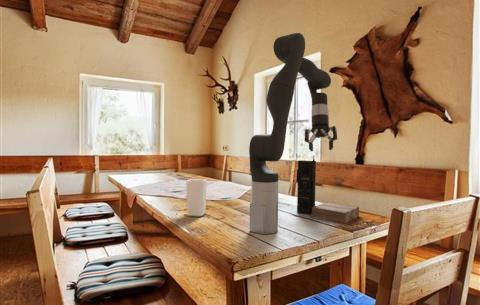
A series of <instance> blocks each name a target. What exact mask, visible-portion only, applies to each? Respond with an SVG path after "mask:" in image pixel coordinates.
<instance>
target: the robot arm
mask: <svg viewBox="0 0 480 305" xmlns="http://www.w3.org/2000/svg"><path fill="white" fill-rule="evenodd" d="M305 51H306V39H305V36H304V35H303V34H302V33H300V32H296V33H295V32H293V33H290V34H285V35H282V36H278V37H277V38H276V39H274V42H273V54H274V55H275V57H276V58H277V59H278V60H279V61H280V62H281V63H283V64H284V65H283V67H282V68H281V69H280V70H279V71H278V72H277V73H276V75H275V76H274V77H273V78H272V80H271V82H270V83H269V87H268V90H267V95H266V102H265V103H266V105H267V109H268V111H269V113H270V115H271V118H272V122H273V123H272V124H273V125H272V131H271V133H270V134H265V133H264V134H255V135H252V137H251V139H250V141H249V148H248V149H249V150H248V151H249V152H248V154H249V171H250V175H251V202H250V203H249V232H253V233H256V234H260V235H267V234H269V235H270V234H274V233H277V232H278V231H279V173H278V172H277V171H274V170H272V169H271V168H270V167H269V166H268V165H267V162H272V163H273V162H279V161H280V160H281V159H282V157H283V154H284V151H285V143H286V134H287V129H288V128H287V127H288V120H289V115H290V111H291V107H292V103H293V98H294V95H295V94H294V93H295V90H296V89H295V88H296V82H297V78H298V75H299V74H300V75H301V76H302V78H304V79H305V80H306V82H307V83H306V84H307V87H308V90H309V94H310V98H311V128H310V129H308V128H305V129H304V142H305V143H308V150H309V151H310V152H314V144H313V143H314V141H315V140H316V139H319V138H327V139H328V149H329V151H332V150H333V149H334V141H337V140H338V131H337V127H336V126H335V125H333V126H330V123H329V118H330V117H329V114H330V113H329V107H328V95H327V93H325V92H318V90H323V89H327V88H328V87H330V86H331V83H332V79H331V76H330V74H329V73H328V72H327V71H325V70H323V69H321V68H319V67H318V66H317V65H316V64H315V63H314V62H313V61H312V60H310V59H309V58H305V57H304V55H305ZM330 131H331V132H332V136H331V135H330V134H329V132H330ZM311 133H312V134H311ZM310 134H311V135H310Z"/></svg>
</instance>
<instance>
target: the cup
mask: <svg viewBox="0 0 480 305" xmlns="http://www.w3.org/2000/svg"><path fill="white" fill-rule="evenodd" d="M185 182H186V186H185V189H186V190H185V191H186V194H185V195H186V206H187V207H186V208H187V214H188V216H189V217H193V218H194V217H197V218H199V217H203V216H204V215H205V214H206V207H207V206H206V205H207V195H208V194H207V191H208V189H207V188H208V180H207V179H206V178H189V179H187V180H186V181H185Z"/></svg>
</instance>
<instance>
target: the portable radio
mask: <svg viewBox="0 0 480 305" xmlns="http://www.w3.org/2000/svg"><path fill="white" fill-rule="evenodd" d="M312 158H313V159H312V160H302V159H301V160H297V169H296V180H295V181H296V182H297V196H296V198H297V200H296V201H297V202H296V203H297V204H296V213H297V214H303V215H304V214H306V215H312V207H314V206H316V178H317V176H316V172H317V171H316V168H317V162H316V159H315V155H313V157H312ZM296 182H295V183H296Z"/></svg>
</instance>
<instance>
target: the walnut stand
mask: <svg viewBox="0 0 480 305" xmlns="http://www.w3.org/2000/svg"><path fill="white" fill-rule="evenodd" d="M311 217H312V218H316V219H321V220H326V221H332V222H336V223H341V224H347V223H348V222H350V221H353V220H355V219H357V218H358V217H360V206H355V205H349V204H342V203H336V202H329V201H327V202H324V203H321V204H318V205H315V206H314V207H312V214H311Z"/></svg>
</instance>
